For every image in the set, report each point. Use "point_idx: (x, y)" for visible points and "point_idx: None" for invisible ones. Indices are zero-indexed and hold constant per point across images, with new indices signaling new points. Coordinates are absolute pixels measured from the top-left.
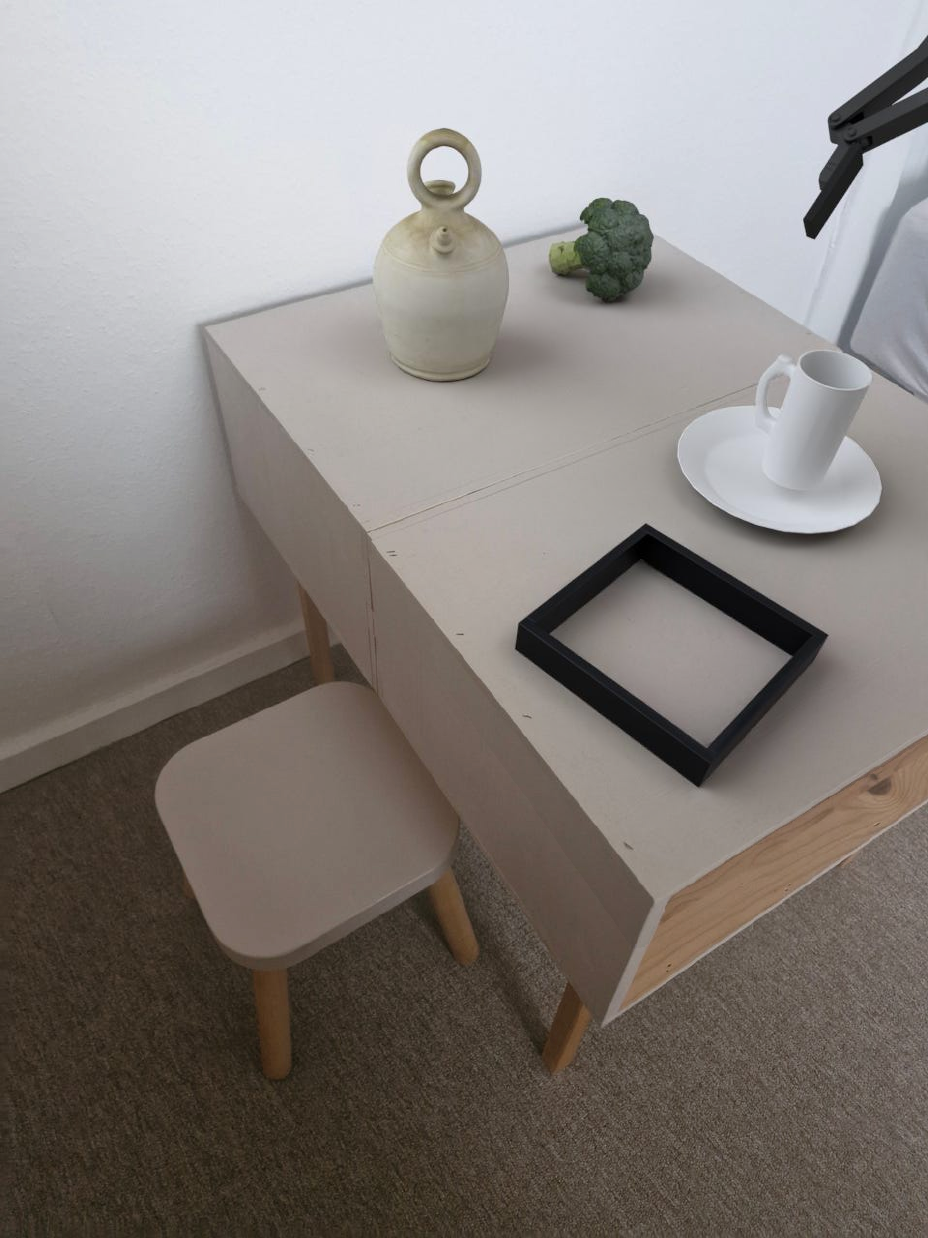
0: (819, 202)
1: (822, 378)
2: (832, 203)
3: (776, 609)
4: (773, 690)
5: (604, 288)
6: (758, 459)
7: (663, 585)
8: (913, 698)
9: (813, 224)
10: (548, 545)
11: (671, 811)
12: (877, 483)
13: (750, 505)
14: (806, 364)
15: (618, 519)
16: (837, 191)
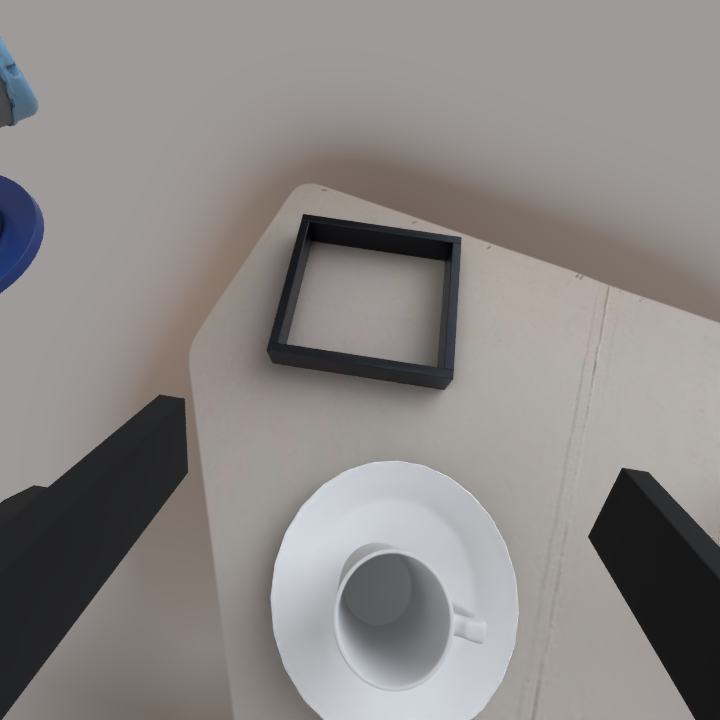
0: (670, 510)
1: (408, 660)
2: (652, 583)
3: (312, 351)
4: (287, 280)
5: None
6: None
7: None
8: (194, 373)
9: (616, 487)
10: (503, 349)
11: (313, 215)
12: (280, 640)
13: (392, 515)
14: (440, 636)
15: (480, 414)
16: (684, 602)
